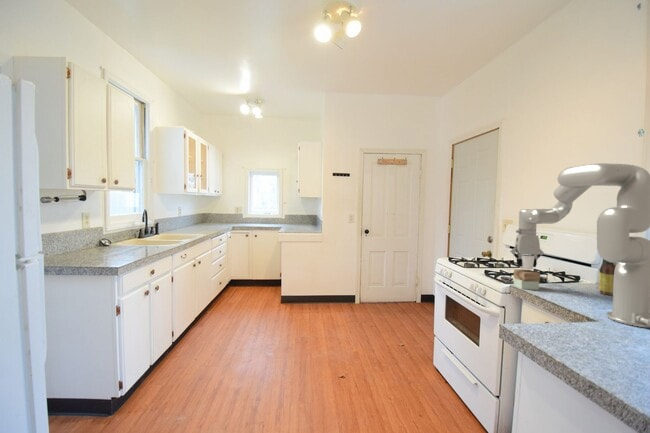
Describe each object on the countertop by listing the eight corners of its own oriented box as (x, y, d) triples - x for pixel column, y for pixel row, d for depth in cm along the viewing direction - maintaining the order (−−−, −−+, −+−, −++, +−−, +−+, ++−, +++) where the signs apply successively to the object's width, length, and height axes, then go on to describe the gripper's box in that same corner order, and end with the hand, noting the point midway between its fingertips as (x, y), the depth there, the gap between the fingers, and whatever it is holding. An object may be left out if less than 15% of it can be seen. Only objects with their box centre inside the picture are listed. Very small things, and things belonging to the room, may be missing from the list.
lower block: (538, 290, 142) (539, 281, 142) (521, 289, 144) (521, 280, 144) (530, 286, 150) (530, 277, 150) (513, 285, 152) (514, 277, 151)
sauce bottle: (608, 292, 139) (610, 253, 139) (620, 296, 133) (622, 255, 132) (594, 291, 140) (596, 252, 139) (606, 295, 134) (607, 254, 133)
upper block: (539, 281, 143) (540, 272, 142) (524, 281, 143) (524, 272, 142) (528, 277, 151) (528, 269, 150) (513, 277, 151) (514, 269, 150)
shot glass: (537, 269, 143) (538, 256, 143) (524, 269, 143) (524, 256, 143) (528, 266, 150) (528, 254, 150) (515, 266, 150) (515, 253, 150)
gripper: (512, 232, 144) (511, 267, 145) (550, 233, 141) (549, 268, 142) (506, 231, 151) (505, 264, 152) (541, 232, 148) (540, 265, 149)
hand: (526, 266), depth 147 cm, fingers closed on shot glass, 6 cm apart
